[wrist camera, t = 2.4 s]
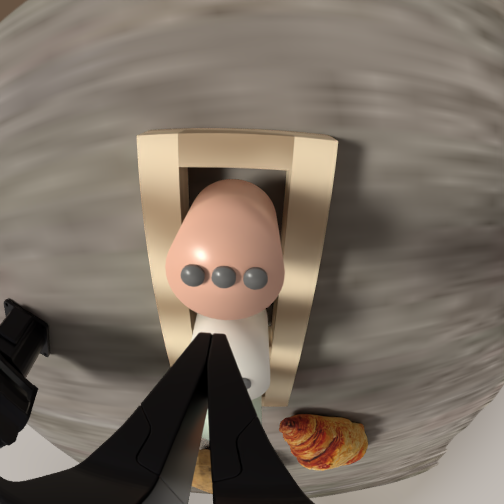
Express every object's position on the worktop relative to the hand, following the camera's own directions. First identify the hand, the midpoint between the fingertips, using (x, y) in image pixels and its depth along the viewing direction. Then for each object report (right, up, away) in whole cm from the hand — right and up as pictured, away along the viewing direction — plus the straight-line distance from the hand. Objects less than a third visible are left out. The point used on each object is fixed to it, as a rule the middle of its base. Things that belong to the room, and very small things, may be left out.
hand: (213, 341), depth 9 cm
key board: (0, -1, +14) cm, 14 cm away
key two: (0, -2, +12) cm, 12 cm away
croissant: (+12, -22, +27) cm, 37 cm away
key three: (0, +5, +8) cm, 9 cm away
